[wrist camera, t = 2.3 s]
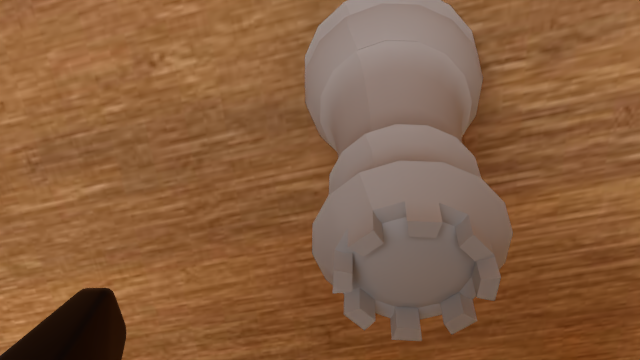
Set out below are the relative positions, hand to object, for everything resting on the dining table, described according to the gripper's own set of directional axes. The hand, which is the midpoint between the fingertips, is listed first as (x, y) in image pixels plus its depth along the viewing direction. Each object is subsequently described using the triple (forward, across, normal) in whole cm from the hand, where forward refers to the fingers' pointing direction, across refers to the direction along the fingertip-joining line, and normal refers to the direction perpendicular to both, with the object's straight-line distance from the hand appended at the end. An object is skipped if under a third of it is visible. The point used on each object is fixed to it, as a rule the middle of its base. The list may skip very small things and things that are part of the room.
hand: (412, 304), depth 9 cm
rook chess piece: (+8, 0, 0) cm, 9 cm away
